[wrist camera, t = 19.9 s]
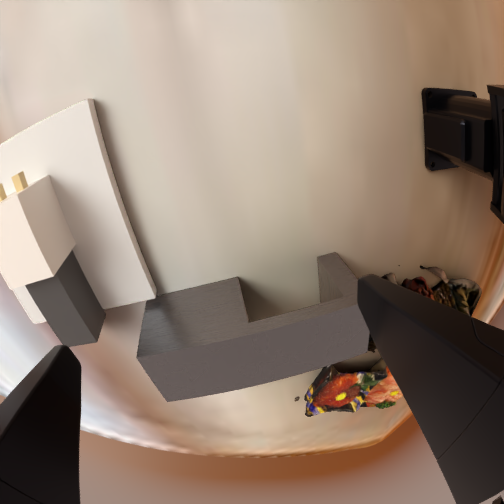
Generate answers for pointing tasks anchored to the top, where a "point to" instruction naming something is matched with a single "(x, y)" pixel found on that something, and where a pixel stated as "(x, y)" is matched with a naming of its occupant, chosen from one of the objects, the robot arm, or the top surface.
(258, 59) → the top surface
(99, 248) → the white mat
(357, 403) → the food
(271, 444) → the top surface
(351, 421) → the top surface
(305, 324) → the grey notched block
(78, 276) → the plug
